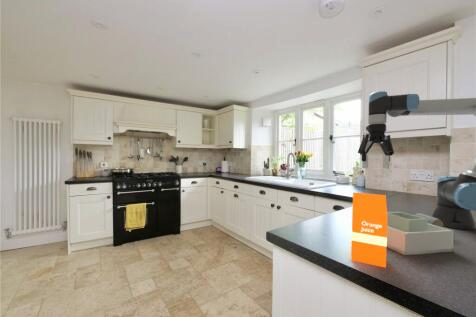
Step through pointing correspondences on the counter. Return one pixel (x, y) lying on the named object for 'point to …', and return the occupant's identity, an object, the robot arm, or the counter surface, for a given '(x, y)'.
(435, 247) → the grey crate
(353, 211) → the orange juice
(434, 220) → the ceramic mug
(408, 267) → the counter surface
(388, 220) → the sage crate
